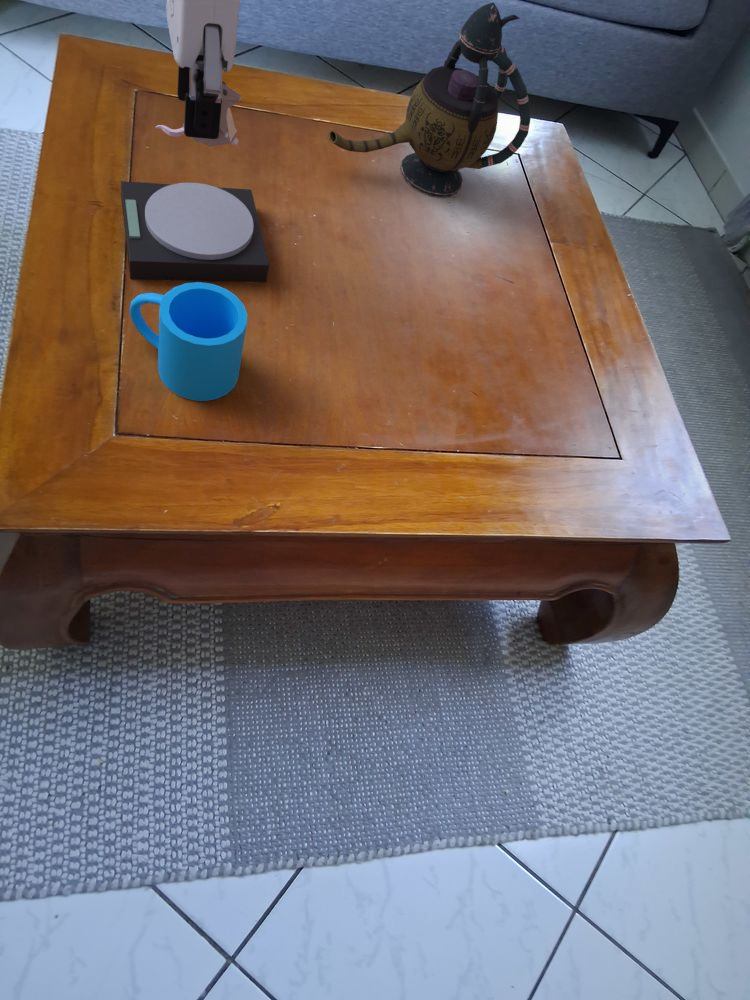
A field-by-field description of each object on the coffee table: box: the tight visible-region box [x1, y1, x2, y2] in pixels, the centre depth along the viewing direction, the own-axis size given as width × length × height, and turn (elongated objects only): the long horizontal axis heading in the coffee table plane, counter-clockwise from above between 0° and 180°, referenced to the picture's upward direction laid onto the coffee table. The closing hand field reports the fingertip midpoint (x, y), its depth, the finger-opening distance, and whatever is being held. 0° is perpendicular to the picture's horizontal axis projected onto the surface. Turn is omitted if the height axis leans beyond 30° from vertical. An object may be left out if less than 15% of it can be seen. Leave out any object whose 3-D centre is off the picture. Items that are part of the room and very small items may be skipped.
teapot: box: [328, 1, 531, 199], centre depth 96 cm, size 12×25×23 cm, turn 107°
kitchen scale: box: [120, 180, 270, 283], centre depth 87 cm, size 15×13×3 cm
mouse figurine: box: [154, 80, 242, 147], centre depth 73 cm, size 5×8×7 cm, turn 102°
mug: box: [128, 281, 248, 402], centre depth 75 cm, size 12×8×8 cm
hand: (197, 116), depth 74 cm, fingers closed on mouse figurine, 4 cm apart
